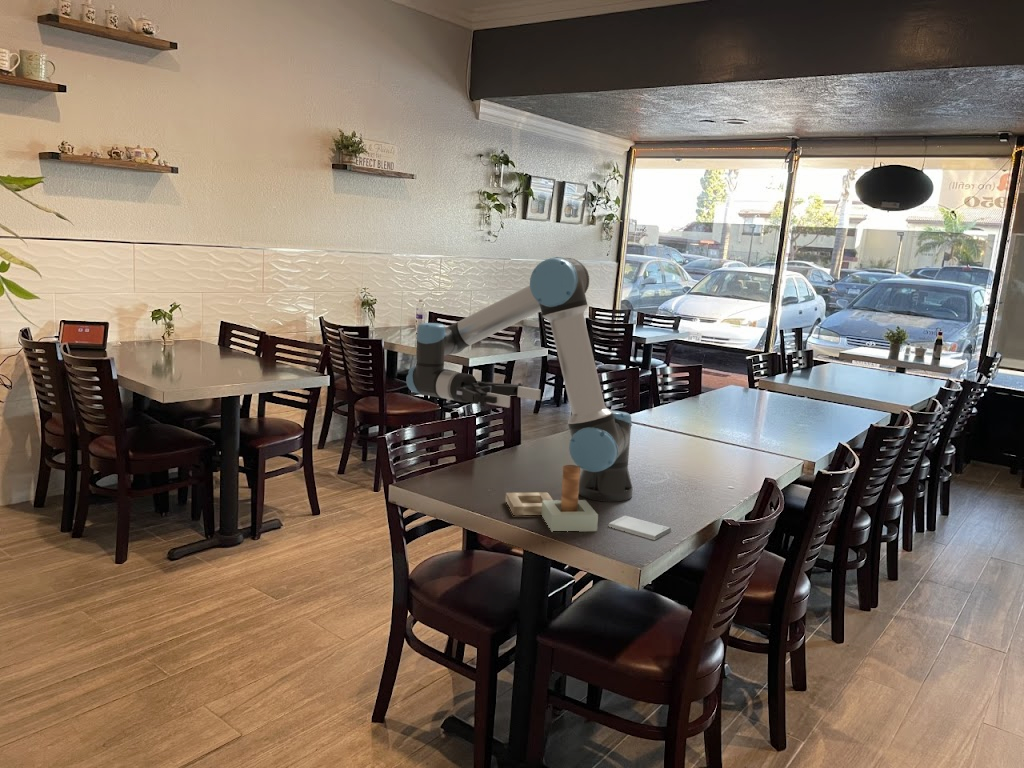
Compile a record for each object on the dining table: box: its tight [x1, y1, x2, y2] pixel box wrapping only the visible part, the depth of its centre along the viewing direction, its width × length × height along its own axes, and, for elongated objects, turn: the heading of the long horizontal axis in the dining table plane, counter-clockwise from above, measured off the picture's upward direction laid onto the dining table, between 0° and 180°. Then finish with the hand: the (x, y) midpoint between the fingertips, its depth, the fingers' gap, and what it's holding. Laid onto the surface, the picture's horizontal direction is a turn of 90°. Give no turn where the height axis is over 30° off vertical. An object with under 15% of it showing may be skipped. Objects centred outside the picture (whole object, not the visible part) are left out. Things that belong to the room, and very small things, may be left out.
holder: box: [505, 491, 554, 516], centre depth 198 cm, size 11×11×2 cm
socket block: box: [541, 499, 599, 533], centre depth 188 cm, size 11×11×4 cm
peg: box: [561, 464, 581, 512], centre depth 187 cm, size 4×4×14 cm
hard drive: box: [608, 515, 672, 541], centre depth 187 cm, size 2×8×12 cm
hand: (524, 398), depth 194 cm, fingers open, 13 cm apart
